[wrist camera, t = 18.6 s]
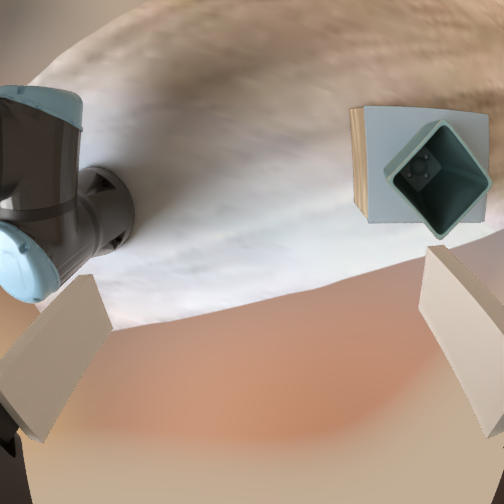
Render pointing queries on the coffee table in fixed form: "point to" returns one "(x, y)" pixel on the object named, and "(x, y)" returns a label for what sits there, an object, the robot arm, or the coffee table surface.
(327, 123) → the coffee table surface
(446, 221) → the flower pot
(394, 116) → the lid
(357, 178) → the crate
